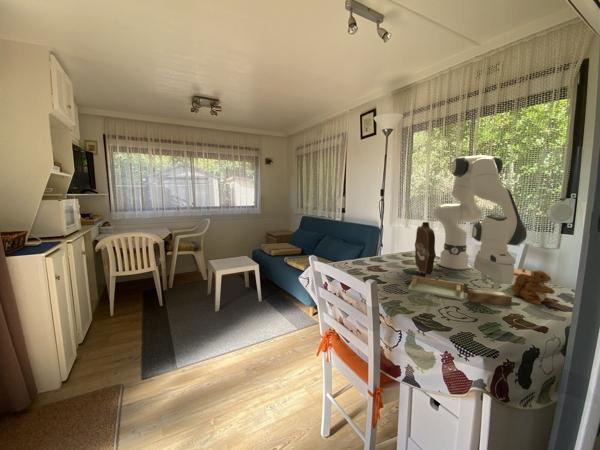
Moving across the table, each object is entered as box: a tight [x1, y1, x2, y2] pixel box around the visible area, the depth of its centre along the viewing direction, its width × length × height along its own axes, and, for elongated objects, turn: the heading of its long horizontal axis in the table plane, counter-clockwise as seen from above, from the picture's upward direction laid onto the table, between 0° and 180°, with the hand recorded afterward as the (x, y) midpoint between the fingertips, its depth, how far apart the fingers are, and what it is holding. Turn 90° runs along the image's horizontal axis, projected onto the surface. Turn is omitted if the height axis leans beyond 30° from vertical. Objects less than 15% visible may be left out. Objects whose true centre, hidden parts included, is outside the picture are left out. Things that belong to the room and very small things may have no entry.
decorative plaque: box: [414, 221, 437, 277], centre depth 137 cm, size 30×3×30 cm, turn 168°
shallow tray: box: [407, 274, 465, 301], centre depth 117 cm, size 11×22×5 cm, turn 57°
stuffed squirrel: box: [511, 270, 555, 306], centre depth 108 cm, size 10×14×13 cm
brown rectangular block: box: [466, 288, 513, 306], centre depth 105 cm, size 14×5×4 cm, turn 73°
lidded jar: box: [510, 268, 531, 286], centre depth 121 cm, size 11×11×9 cm
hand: (489, 286), depth 105 cm, fingers open, 5 cm apart
